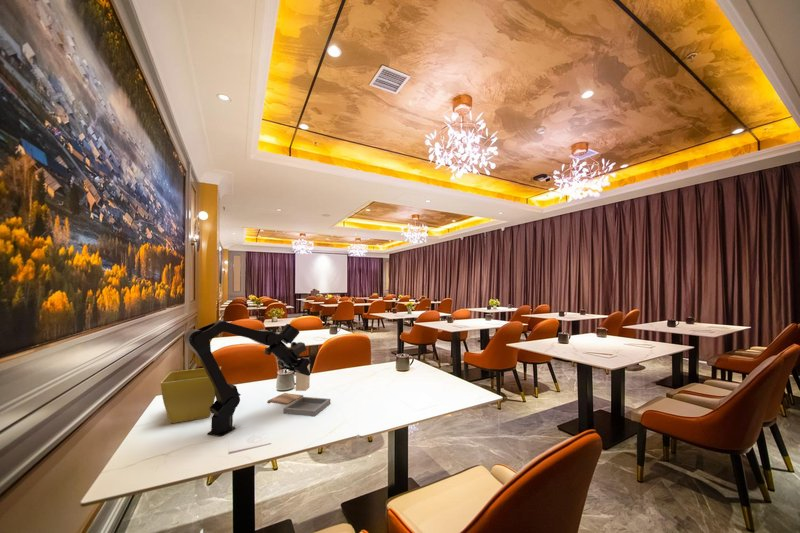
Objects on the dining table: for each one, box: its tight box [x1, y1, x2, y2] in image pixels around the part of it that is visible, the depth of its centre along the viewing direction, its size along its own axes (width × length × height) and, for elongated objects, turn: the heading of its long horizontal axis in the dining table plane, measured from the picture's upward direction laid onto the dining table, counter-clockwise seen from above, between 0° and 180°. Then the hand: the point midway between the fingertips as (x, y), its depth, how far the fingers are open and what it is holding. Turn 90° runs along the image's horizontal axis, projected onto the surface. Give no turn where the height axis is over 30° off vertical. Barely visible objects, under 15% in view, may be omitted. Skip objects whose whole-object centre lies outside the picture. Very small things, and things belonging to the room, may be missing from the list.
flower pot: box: [160, 366, 222, 424], centre depth 127 cm, size 19×19×17 cm
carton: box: [295, 363, 311, 392], centre depth 136 cm, size 4×4×11 cm
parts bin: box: [283, 396, 331, 417], centre depth 131 cm, size 14×14×2 cm
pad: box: [266, 392, 304, 406], centre depth 142 cm, size 11×11×1 cm
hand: (305, 373), depth 137 cm, fingers closed on carton, 6 cm apart
